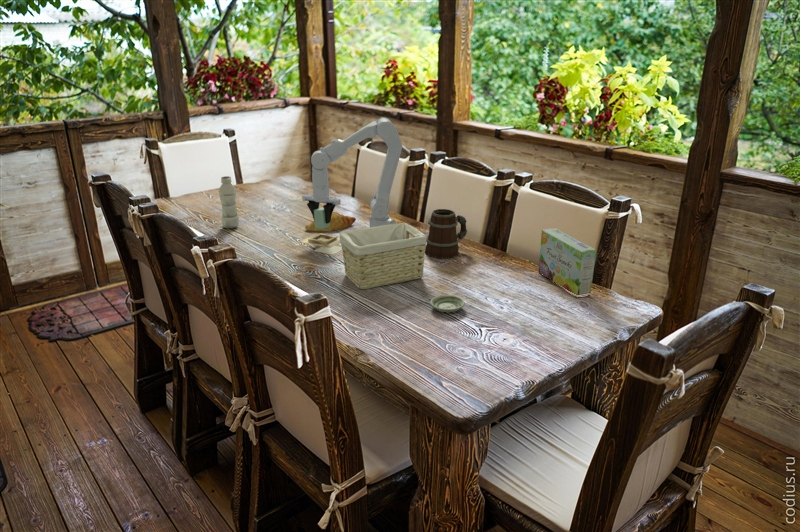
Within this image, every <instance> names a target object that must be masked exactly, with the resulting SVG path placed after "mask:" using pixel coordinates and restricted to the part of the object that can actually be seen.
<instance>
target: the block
mask: <svg viewBox="0 0 800 532" xmlns="http://www.w3.org/2000/svg"><path fill="white" fill-rule="evenodd" d="M313 221H314V222H315V227H317V228H322V229H324V228H327V227H329V226H330V223H328V224H327V223H326V221H325V211H324V208H323V206H321V207H320V206H319V208H317V209H315V210H314V219H313Z"/></svg>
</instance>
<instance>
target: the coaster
mask: <svg viewBox="0 0 800 532" xmlns="http://www.w3.org/2000/svg"><path fill="white" fill-rule="evenodd" d="M326 246H327V245H326ZM331 246H332V245H331ZM340 251H343V250H342V246H339V245H335V246H333V247H330V248H327V247H322V246H319V248H317V249H315V250H314V252H318V253H323V254H327V255H333V256H334V255H336V254H337V253H339V252H340Z"/></svg>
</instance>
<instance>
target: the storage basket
mask: <svg viewBox="0 0 800 532" xmlns="http://www.w3.org/2000/svg"><path fill="white" fill-rule="evenodd" d="M410 236H412V237H411V238H410ZM339 238H340V243H339V244H340V245H341V246H340V247H342V250H341V251H342V257H343V259H342V260H343V264H344V265H343V266H344V273H345V276H346V277H347V278H348V279H349V280H350V282H352V283H353V284H354V285H355V286H356V287H357V288H358V289H360V290H367V289H372V288H378V287H383V286H384V285H385V286H387V285H393V284H399V283H403V282H409V281H413V280H418V279H421V278H423V276H424V268H425V266H424V265H425V264H424V263H425V254H426V253H425V249H426V245H427V242H426V238H427V235H425V234H424V233H423V232H422V231H420V230H419V229H417V228H416V227H414V226H413V225H410V224H408V223H407V222H399V223H396V224H390V225H383V226H377V227H371V228H370V227H365V228H355V229H349V230H342V231H340V232H339Z"/></svg>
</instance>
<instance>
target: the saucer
mask: <svg viewBox="0 0 800 532" xmlns="http://www.w3.org/2000/svg"><path fill="white" fill-rule="evenodd" d="M465 303H466V302H465V300H464V299H463V298H461V297H459V296H456V295H452V294H442V295H437V296H434V297H432V298H431V299H430V303H429V304H430V306H431V307H433V309H435V310H436V311H439V312H440V313H444V312H452V313H455V312H458V311H459V310H461V309H462V308H463V307H464V306H465Z"/></svg>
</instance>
